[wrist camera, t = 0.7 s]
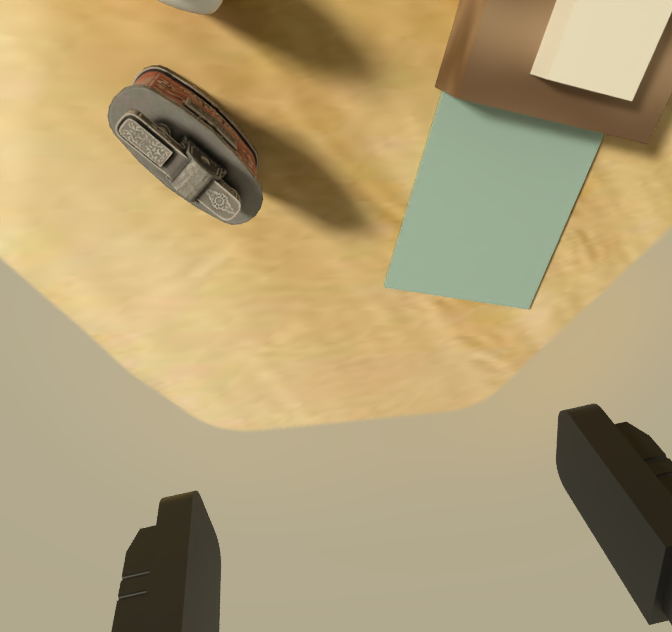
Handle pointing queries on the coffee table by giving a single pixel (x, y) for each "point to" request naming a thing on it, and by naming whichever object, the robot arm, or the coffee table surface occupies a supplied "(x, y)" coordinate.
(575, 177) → the mat
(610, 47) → the tile
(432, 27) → the coffee table surface
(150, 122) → the lighter
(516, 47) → the wooden block
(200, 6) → the eye dropper bottle
